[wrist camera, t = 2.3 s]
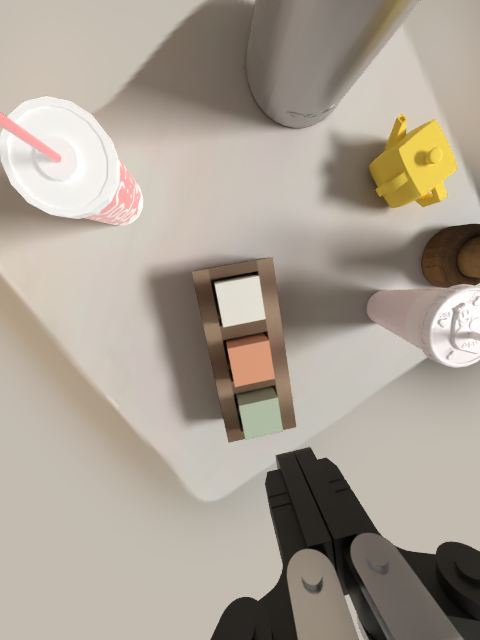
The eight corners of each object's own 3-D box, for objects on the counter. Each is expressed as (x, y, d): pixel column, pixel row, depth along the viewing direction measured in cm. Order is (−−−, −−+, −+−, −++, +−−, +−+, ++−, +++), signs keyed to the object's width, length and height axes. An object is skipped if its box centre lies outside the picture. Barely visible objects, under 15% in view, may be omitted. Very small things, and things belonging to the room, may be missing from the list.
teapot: (341, 161, 24) (375, 135, 19) (390, 122, 24) (437, 85, 19) (381, 230, 26) (421, 223, 21) (426, 195, 26) (478, 178, 21)
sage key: (235, 389, 25) (238, 406, 22) (270, 382, 26) (277, 397, 23) (241, 420, 26) (245, 440, 23) (275, 413, 26) (283, 431, 24)
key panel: (194, 270, 25) (191, 272, 21) (263, 258, 25) (272, 257, 22) (226, 418, 29) (228, 442, 25) (285, 405, 29) (296, 426, 26)
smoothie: (368, 344, 29) (507, 416, 15) (345, 297, 27) (477, 330, 14) (416, 315, 29) (599, 361, 15) (396, 266, 27) (580, 269, 14)
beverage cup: (106, 245, 24) (-36, 222, 10) (66, 180, 22) (-164, 49, 9) (164, 216, 24) (100, 151, 10) (128, 149, 22) (-4, -33, 9)
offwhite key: (214, 281, 23) (214, 284, 20) (252, 274, 23) (259, 275, 20) (221, 319, 24) (223, 327, 21) (259, 312, 24) (265, 319, 21)
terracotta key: (225, 338, 24) (227, 348, 21) (262, 331, 24) (269, 340, 21) (232, 372, 25) (235, 387, 22) (267, 365, 25) (274, 378, 22)
